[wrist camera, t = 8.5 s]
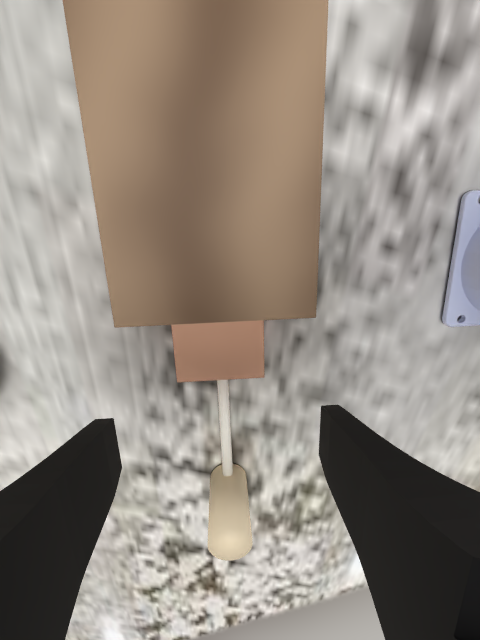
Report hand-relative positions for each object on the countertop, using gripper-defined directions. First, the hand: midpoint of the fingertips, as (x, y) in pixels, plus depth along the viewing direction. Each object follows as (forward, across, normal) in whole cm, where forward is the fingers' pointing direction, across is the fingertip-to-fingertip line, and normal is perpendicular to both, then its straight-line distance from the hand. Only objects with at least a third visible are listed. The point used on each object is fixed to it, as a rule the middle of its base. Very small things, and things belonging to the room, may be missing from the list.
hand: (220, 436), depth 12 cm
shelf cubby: (+10, 0, -9) cm, 13 cm away
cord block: (+10, 0, +4) cm, 11 cm away
